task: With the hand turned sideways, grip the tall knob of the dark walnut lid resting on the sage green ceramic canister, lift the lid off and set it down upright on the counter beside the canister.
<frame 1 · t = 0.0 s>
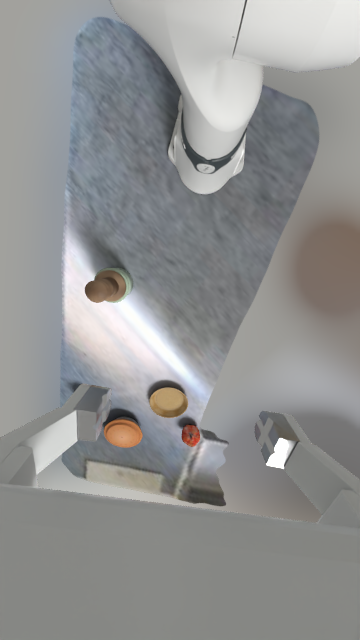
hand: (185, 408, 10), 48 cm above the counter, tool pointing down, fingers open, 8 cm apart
canister: (118, 282, 55), on the counter
pomegranate: (190, 427, 75), on the counter
lid: (111, 285, 50), point 6 cm above the counter, touching canister
pie: (125, 425, 76), on the counter
plant saucer: (169, 398, 70), on the counter
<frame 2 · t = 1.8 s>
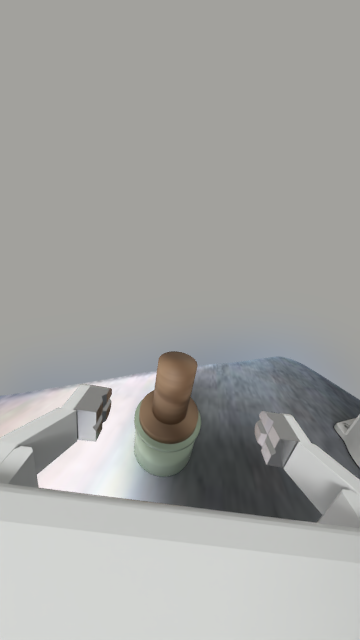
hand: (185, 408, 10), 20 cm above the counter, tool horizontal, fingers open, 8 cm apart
canister: (163, 443, 28), on the counter
lid: (168, 415, 26), point 6 cm above the counter, touching canister
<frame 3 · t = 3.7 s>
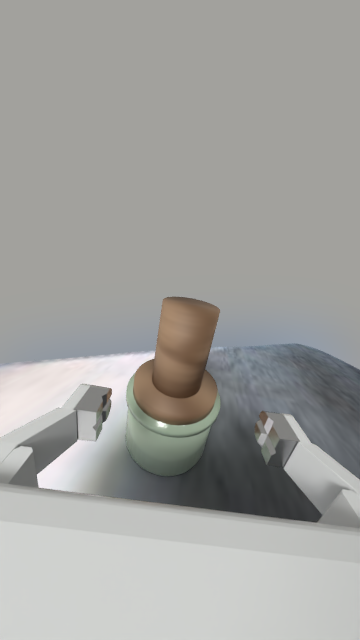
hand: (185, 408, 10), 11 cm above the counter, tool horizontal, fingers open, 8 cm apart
canister: (166, 430, 21), on the counter
lid: (174, 389, 19), point 6 cm above the counter, touching canister
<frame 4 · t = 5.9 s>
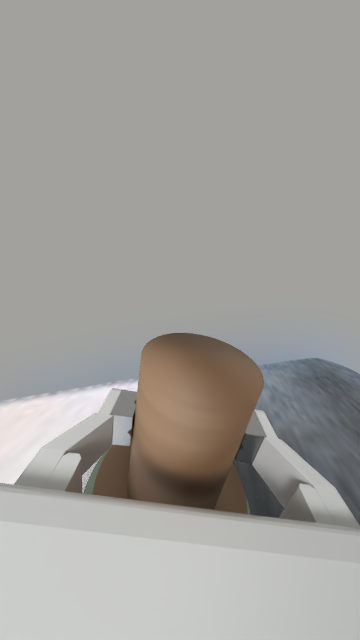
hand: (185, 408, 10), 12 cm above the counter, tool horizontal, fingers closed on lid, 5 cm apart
lid: (169, 490, 11), point 6 cm above the counter, touching canister, gripper
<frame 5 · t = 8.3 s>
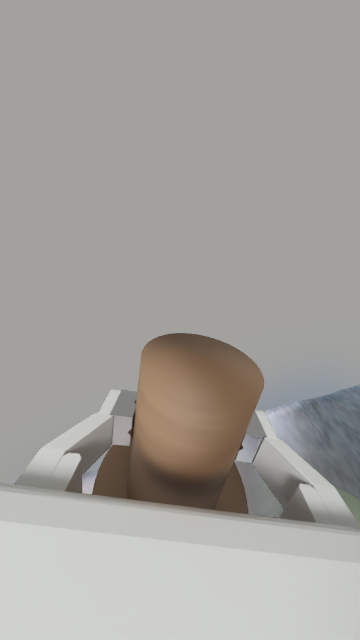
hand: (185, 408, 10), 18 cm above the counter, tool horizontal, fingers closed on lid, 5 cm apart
canister: (334, 588, 16), on the counter
lid: (169, 491, 11), point 13 cm above the counter, touching gripper
when the fingers open (7 cm above the counter, at t = 10.8 s): lid drops 2 cm, on the counter.
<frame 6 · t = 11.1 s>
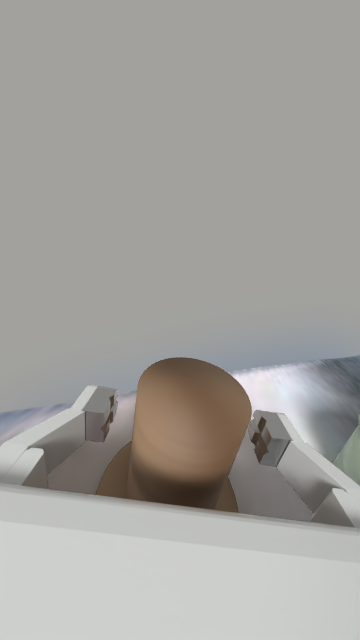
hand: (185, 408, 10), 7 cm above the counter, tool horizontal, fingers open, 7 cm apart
lid: (165, 506, 11), on the counter
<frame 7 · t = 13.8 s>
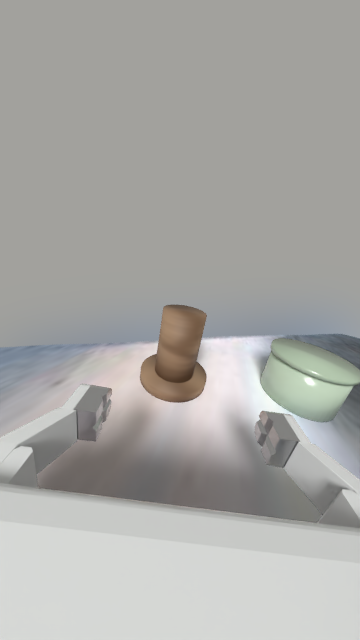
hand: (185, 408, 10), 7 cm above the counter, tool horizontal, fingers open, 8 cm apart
canister: (294, 393, 25), on the counter
lid: (172, 377, 23), on the counter
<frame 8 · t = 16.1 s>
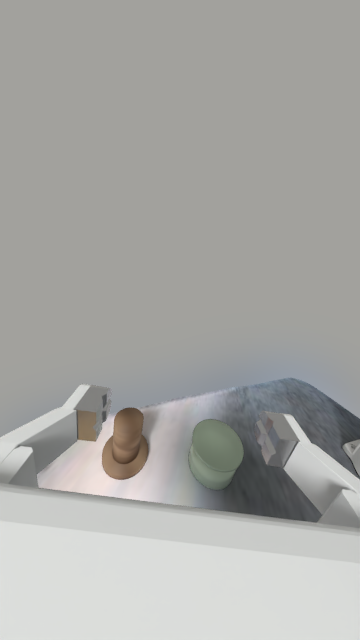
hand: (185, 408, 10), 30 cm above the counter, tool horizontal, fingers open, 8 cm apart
canister: (210, 462, 36), on the counter
lid: (125, 454, 35), on the counter
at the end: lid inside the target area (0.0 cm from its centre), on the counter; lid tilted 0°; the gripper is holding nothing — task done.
